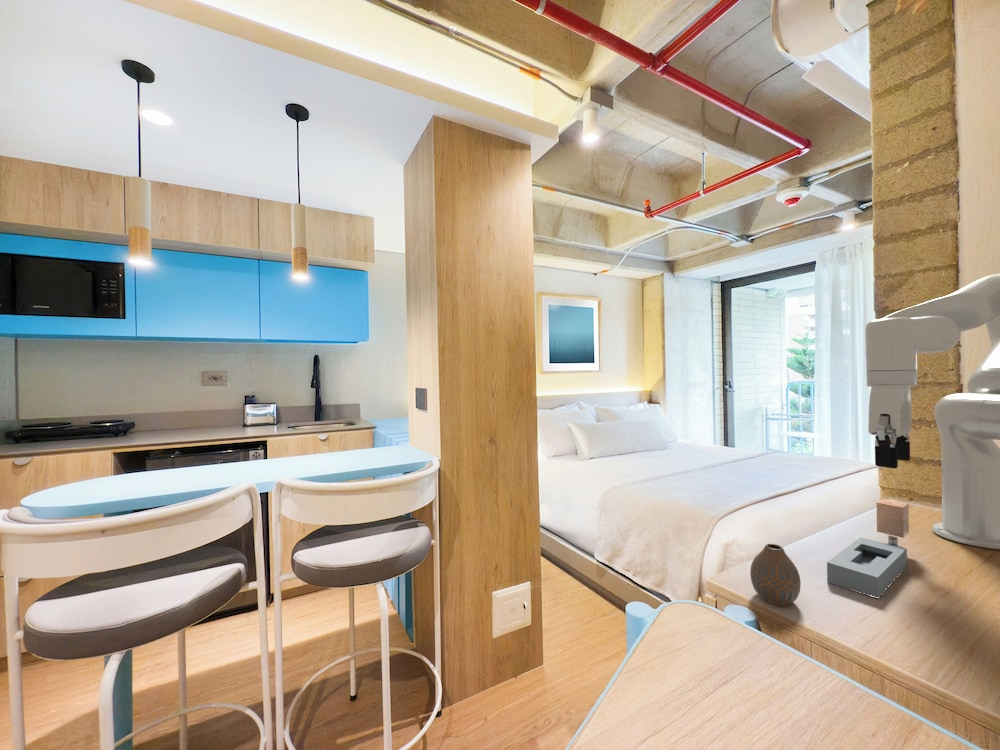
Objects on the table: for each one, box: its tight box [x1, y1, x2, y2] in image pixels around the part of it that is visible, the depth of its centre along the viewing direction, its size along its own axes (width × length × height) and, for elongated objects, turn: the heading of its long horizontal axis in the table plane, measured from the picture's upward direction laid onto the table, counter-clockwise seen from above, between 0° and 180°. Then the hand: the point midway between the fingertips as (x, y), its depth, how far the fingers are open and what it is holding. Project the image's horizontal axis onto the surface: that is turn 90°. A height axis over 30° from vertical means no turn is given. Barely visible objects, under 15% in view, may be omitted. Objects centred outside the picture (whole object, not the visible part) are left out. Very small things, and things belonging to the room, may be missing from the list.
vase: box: [749, 543, 802, 607], centre depth 69 cm, size 7×7×9 cm
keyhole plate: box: [826, 537, 908, 597], centre depth 76 cm, size 18×7×4 cm, turn 125°
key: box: [876, 498, 910, 548], centre depth 85 cm, size 4×4×10 cm
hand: (893, 463), depth 84 cm, fingers open, 9 cm apart
